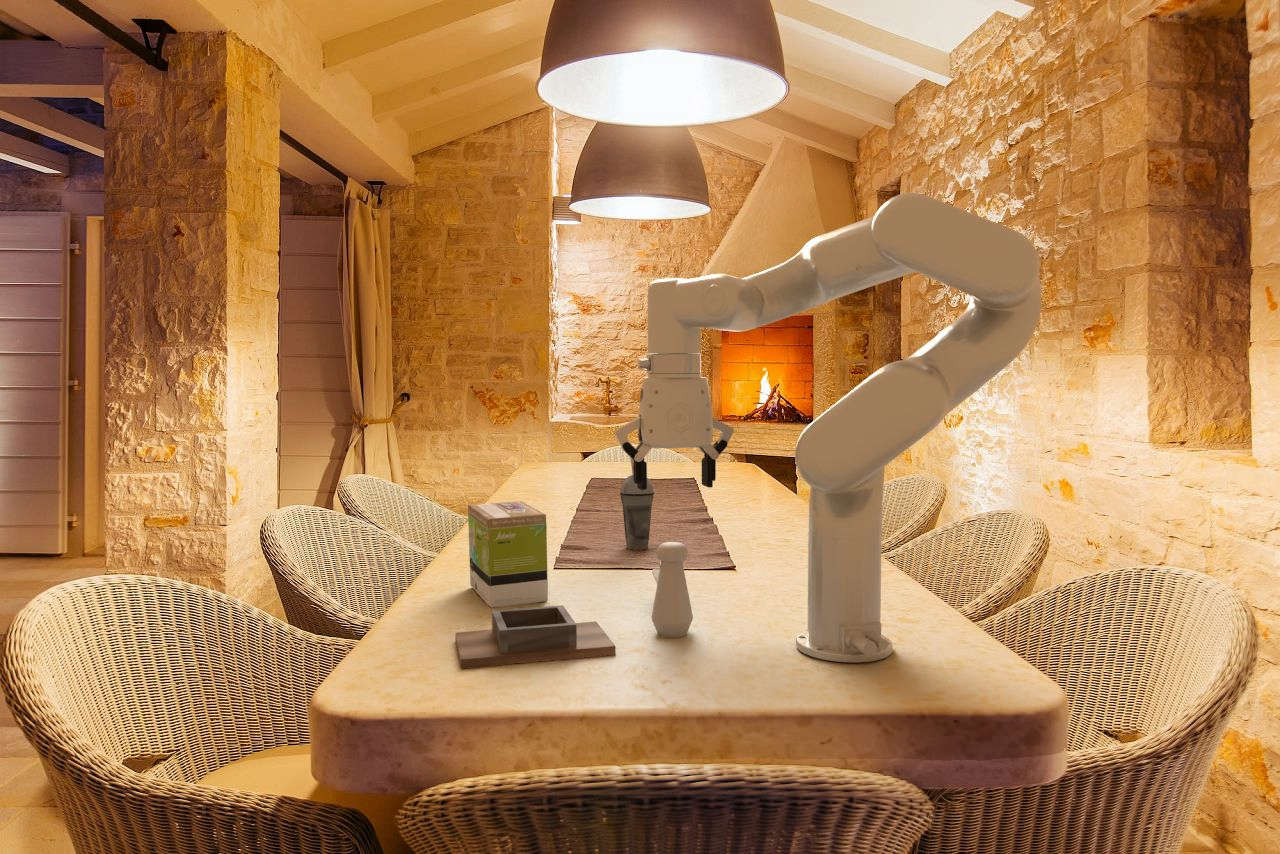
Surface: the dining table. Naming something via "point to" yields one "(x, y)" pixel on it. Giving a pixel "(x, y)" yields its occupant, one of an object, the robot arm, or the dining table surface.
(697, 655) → the dining table surface
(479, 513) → the tea box
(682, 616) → the salt shaker
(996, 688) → the dining table surface
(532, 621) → the stand
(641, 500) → the beverage cup
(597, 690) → the dining table surface
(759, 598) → the dining table surface
